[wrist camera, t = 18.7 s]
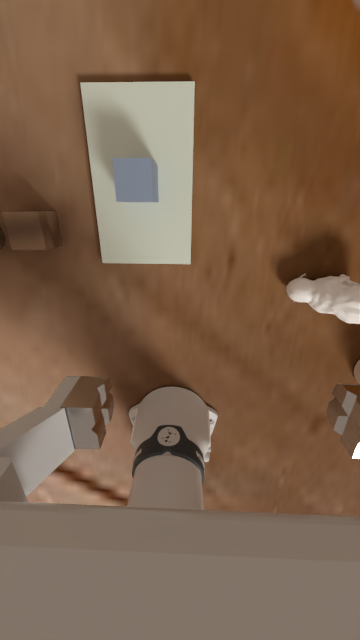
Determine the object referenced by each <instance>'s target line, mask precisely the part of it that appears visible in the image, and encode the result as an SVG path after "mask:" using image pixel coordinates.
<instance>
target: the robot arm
mask: <svg viewBox="0 0 360 640" xmlns="http://www.w3.org/2000/svg"><path fill="white" fill-rule="evenodd" d="M111 387H112V386H111V380H110V378H109V377H91V376H67V377H66V378H65V379H64V380H63V381H62V383H61V384H60V386H59V387H58V388H57V390H56V391H55V392H54V394H53V395H52V397H51V398H50V399H49V401H48V402H47V403H46V405H45V406H44V407H39V408H37V409H35V410H33V411H32V412H30V413H28V414H26V415H25V416H23V417H21V418H19V419H18V420H16V421H14V422H12V423H11V424H9V425H7V426H5V427H4V428H2V429H0V640H360V517H358V516H333V515H309V514H285V513H262V512H240V511H217V510H204V506H203V495H202V483H203V480H204V471H205V467H204V462H208V461H209V452H210V450H211V439H210V437H211V434H212V431H213V429H214V426H215V423H216V420H217V412H216V411H215V410H214V409H212V408H211V407H209V406H207V405H206V404H205V403H204V402H203V400H202V399H201V398H200V397H199V396H198V395H196V394H195V393H193V392H192V391H190V390H187V389H184V388H180V387H163V388H159V389H156V390H154V391H152V392H150V393H149V394H148V395H147V396H146V397H145V398H144V399H143V400H142V401H141V402H140V403H139V404H137V405H135V406H133V407H132V408H130V410H129V417H130V420H131V422H132V425H133V430H132V435H131V444H132V446H133V449H134V451H135V452H136V454H135V457H134V460H133V469H132V477H133V482H132V487H131V491H130V496H129V501H128V506H127V507H124V506H101V505H78V504H54V503H31V502H28V500H27V498H26V496H27V495H29V494H30V493H31V492H32V491H33V490H34V489H35V488H36V487H37V486H38V485H39V484H40V483H41V482H42V481H43V480H44V479H45V478H46V477H47V476H49V475H50V474H51V473H52V472H53V471H54V470H55V469H56V468H57V467H58V466H59V465H60V464H61V463H62V462H63V461H64V460H65V459H66V458H67V457H69V456H70V455H71V454H72V453H73V452H74V451H75V449H100V448H101V445H102V442H103V440H104V437H105V434H106V429H105V426H106V425H107V424H108V423H110V421H111V418H112V414H113V408H114V401H113V396H112V395H111V394H110V393H109V392H110V389H111ZM332 394H333V395H334V397H335V398H334V399H333V400H331V401H330V402H329V404H328V407H327V418H328V420H329V423H330V425H331V427H332V428H333V430H334V431H336V432H337V433H339V434H340V435H341V442H342V444H343V445H344V447H345V449H346V450H347V452H348V453H349V455H350V456H351V458H354V459H360V384H337V385H336V386H335V387H334V389H333V391H332ZM210 419H211V420H210Z"/></svg>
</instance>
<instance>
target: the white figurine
mask: <svg viewBox="0 0 360 640" xmlns="http://www.w3.org/2000/svg"><path fill="white" fill-rule="evenodd" d="M303 275H304V276H305V274H303ZM303 275H302V276H300V277H299V278H296V279H294V280H292V281H290V282H289V284H288V285H287V288H286V292H287V294H288V296H289V297H290V298H291V299H292V300H294V303H295V301H297V302H307V303H308V304H309V305H310V306H311V307H312V308H313V309H314V310H316V311H317V312H319V313H329V314H335V315H336V316H337V317H338V318H339V319H340V320H343V321H344V322H346V323H354V324H360V284H359V283H356V282H352V281H351V280H349V277H348V276H346V275H344V274H341V275H340V276H339V277H334V276H328V277H324V278H319V279H316V280H314V281H312V280H309V279H306V278H302V277H303Z"/></svg>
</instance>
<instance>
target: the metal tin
mask: <svg viewBox="0 0 360 640" xmlns="http://www.w3.org/2000/svg"><path fill="white" fill-rule="evenodd" d="M4 244H5V235H4V232H3V230H2V228H1V227H0V249H1V248H2V247H3V246H4Z"/></svg>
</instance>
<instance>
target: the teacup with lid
mask: <svg viewBox="0 0 360 640" xmlns="http://www.w3.org/2000/svg"><path fill="white" fill-rule="evenodd" d="M354 377H355V379H356V381H357V382H358V383H359V384H360V359H359V360H358V362H357V363H356V365H355V368H354Z"/></svg>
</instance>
